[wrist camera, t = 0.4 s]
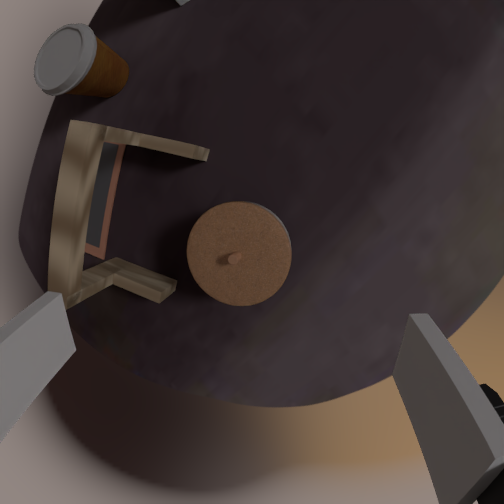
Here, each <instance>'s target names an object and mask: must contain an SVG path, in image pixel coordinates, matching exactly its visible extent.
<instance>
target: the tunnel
mask: <svg viewBox="0 0 504 504" xmlns="http://www.w3.org/2000/svg"><path fill="white" fill-rule="evenodd" d="M104 141H108V142H115V143H121V144H128V145H134V146H140V147H145V148H149V149H154V150H158V151H162V152H167V153H171V154H175V155H179V156H183V157H188V158H192V159H197V160H203V161H207V157H208V154H209V150H210V149H206V148H203V147H200V146H196V145H192V144H188V143H183V142H179V141H174V140H170V139H165V138H160V137H155V136H151V135H146V134H141V133H136V132H132V131H128V130H123V129H119V128H114V127H109V126H105V125H100V124H95V123H89V122H82V121H76V120H71V121H70V125H69V129H68V133H67V137H66V142H65V146H64V151H63V156H62V161H61V166H60V171H59V177H58V183H57V189H56V196H55V203H54V211H53V219H52V228H51V239H50V251H49V268H48V291H50V292H57V293H62V297H63V302H64V306H65V309H66V310H67V309H68V308H70V307H72V306H74V305H76V304H77V303H79V302H81V301H83V300H84V299H86V298H88V297H90V296H92V295H93V294H95V293H97V292H99V291H101V290H103V289H104V288H106V287H108V286H110V285H112V284H114V285H116V286H119V287H121V288H123V289H126V290H128V291H131V292H133V293H135V294H138V295H140V296H143V297H145V298H148V299H150V300H152V301H155V302H157V303H161V302H162V301H163V300H164V299H166V298H167V297H168V296H169V295H170V294H172V293H173V292H174V291H175V290H176V285H177V280H175V279H172V278H169V277H167V276H164V275H161V274H159V273H156V272H153V271H151V270H148V269H145V268H143V267H140V266H138V265H135V264H132V263H130V262H127V261H125V260H122V259H120V258H117V257H115V258H113V259H110V260H108V261H106V262H103V263H101V264H99V265H96V266H94V267H92V268H89V269H87V270H85V271H82V270H83V260H84V251H85V242H86V235H87V227H88V220H89V214H90V208H91V202H92V196H93V190H94V185H95V180H96V175H97V170H98V165H99V161H100V156H101V152H102V147H103V143H104Z"/></svg>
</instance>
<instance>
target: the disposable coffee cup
mask: <svg viewBox="0 0 504 504" xmlns="http://www.w3.org/2000/svg"><path fill="white" fill-rule="evenodd" d="M128 76H129V67H128V64H127V63H126V61H125V60H123V59H122V58H121V57H120V56H119V55H117V54H116V53H115V52H114V51H113V50H112V49H110V48H109V47H108V46H107V45H106V44H105V43H103V42H102V41H101V40H100V39H99V38H97V37H96V36H95V35H94V32H93V30H92V29H91V28H90V27H89V26H87V25H85V24H68V25H65V26H63V27H61V28H59V29H58V30H56V31H55V32H54V33H52V34H51V35H50V36H49V37H48V39H47V40H46V41H45V43H44V44H43V46H42V47H41V49H40V51H39V53H38V56H37V58H36V61H35V67H34V77H35V81H36V84H37V85H38V86H39V87H40V88H41V89H42V90H43V91H44V92H45V93H46V94H49V95H52V96H53V95H61V94H65V93H66V94H78V95H87V96H98V97H104V98H108V97H112V96H114V95H116V94H117V93H118V92H120V91H121V89H122V88H123V87H124V86H125V84H126V82H127V79H128Z"/></svg>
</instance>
